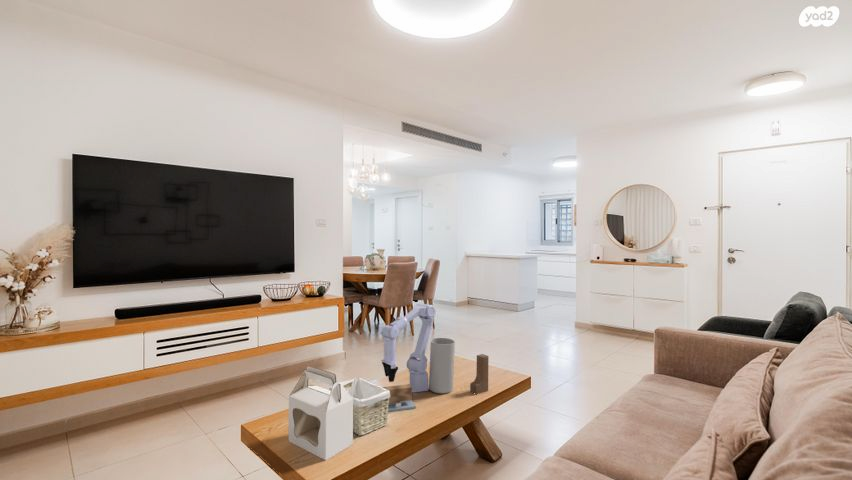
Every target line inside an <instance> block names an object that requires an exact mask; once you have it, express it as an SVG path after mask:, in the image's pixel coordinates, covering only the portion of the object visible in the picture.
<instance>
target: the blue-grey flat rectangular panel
mask: <svg viewBox="0 0 852 480" xmlns="http://www.w3.org/2000/svg"><path fill="white" fill-rule="evenodd" d="M416 408H417V406H416V405H415V403H414V402H413V399H412V400H409V401H401V407H399V408H395V406H394V404H393V403H389V404H388V413H392V412H393V413H394V412H399V411H400V412H401V411H408V410H414V409H416Z"/></svg>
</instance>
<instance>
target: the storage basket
mask: <svg viewBox="0 0 852 480" xmlns="http://www.w3.org/2000/svg"><path fill="white" fill-rule="evenodd" d="M339 382H340V383H341V384H342V385H343V387H344V388H345V389H346V391H347V392H348V393H349V395H350V396H351V397H352V399H353V434H354V433H355V434H356V435H358V436H364V435H366V434H369V433H372V432H374V431H377V430H378V429H380V428H382V427H384V426H386V425H387V424H388V415H389V414H388V413H389V412H388V404H389V398H390V391H389V390H387V389H385V388H382V387H383V386H380V385H378V384H374V383H372V382H370V381H368V380H365V379H364V378H361V377H354V378H351V379H347V380H344V381H339ZM347 388H349V389H348V390H347ZM331 389H332V386H331V385H329V389H328V390H330V391H331ZM339 403H340V402H339Z"/></svg>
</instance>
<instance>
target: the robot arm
mask: <svg viewBox="0 0 852 480" xmlns="http://www.w3.org/2000/svg"><path fill="white" fill-rule="evenodd" d="M436 311H437V310H436V308H435V306H434V305H433V304H427V303H421V302H418V303H416V305H414V306H413V308H412V309H411V310H410V311H409V312H408V313H406V314H405V315H404V316H400V317H399V316H398V317H397V318H396V320H394V321H393V322H390V324H386V325H384V326H383V328H382V329H381V331H380V335H382V340H383V359H381V361H380V362H381V365H382V366H383V371H384V375H385V377H388V378H387V379H388V382H390V383H393V382H394V381H395V379H396V374H397V372H398V370H399V367H398V366H396V362H397V359H396V358H397V357H396V356H397V355H396V354H397V353H396V349H397V348H396V341H397V340H396V339H397V337H398V336H399V333H400V332H402V331H403V330H404V329H405V328H407V326H408V323H410V322H411V321H412V320H414V319H415V318H417V317H418V318H419V319H420V320H421V322H422V323H421V328H420V331H419V335H418V339H417V342H416V345H415V349H414V351H413V352H412V353H410V355H409V358H408V359H407V361H406V369H408V372H409V384H410V385H411V387H412V394H413V393H419V392H420V393H421V392H428V391H429V390H430V389H429V373H428V371H427V367H428V358H427V357H426V355H425V353H426V350H427V347H428V344H429V339H430V336H431V332H432V329H433V324H434V321H435V316H436Z"/></svg>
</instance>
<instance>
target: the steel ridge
mask: <svg viewBox="0 0 852 480" xmlns="http://www.w3.org/2000/svg"><path fill="white" fill-rule="evenodd" d="M393 404H394V406H395V408H399V407H401V402H393Z"/></svg>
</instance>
